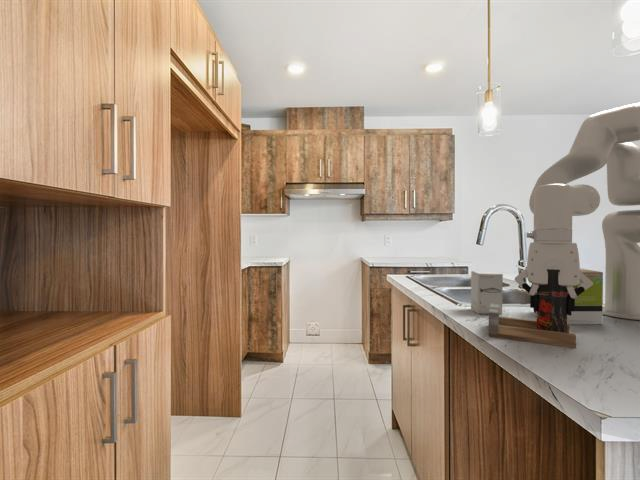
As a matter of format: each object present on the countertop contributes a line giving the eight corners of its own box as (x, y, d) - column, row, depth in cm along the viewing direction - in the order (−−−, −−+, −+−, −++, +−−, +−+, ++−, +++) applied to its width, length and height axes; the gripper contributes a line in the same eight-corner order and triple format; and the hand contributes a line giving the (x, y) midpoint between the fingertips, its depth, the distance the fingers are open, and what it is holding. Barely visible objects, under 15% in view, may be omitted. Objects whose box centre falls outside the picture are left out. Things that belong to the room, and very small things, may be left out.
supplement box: (477, 314, 103) (477, 273, 103) (470, 308, 110) (470, 270, 110) (502, 315, 102) (503, 273, 101) (494, 309, 109) (494, 271, 109)
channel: (490, 324, 91) (490, 303, 91) (567, 333, 83) (568, 310, 83) (488, 336, 81) (488, 312, 80) (576, 348, 72) (576, 321, 72)
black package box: (573, 335, 76) (573, 269, 76) (546, 334, 77) (546, 269, 76) (556, 327, 82) (557, 267, 82) (531, 327, 83) (531, 267, 82)
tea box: (533, 311, 106) (534, 265, 106) (566, 312, 105) (567, 265, 105) (565, 324, 91) (566, 270, 91) (604, 325, 90) (605, 270, 90)
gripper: (510, 237, 80) (510, 312, 80) (603, 237, 71) (602, 320, 72) (510, 236, 86) (509, 305, 87) (595, 236, 78) (594, 313, 78)
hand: (551, 311), depth 79 cm, fingers closed on black package box, 5 cm apart
